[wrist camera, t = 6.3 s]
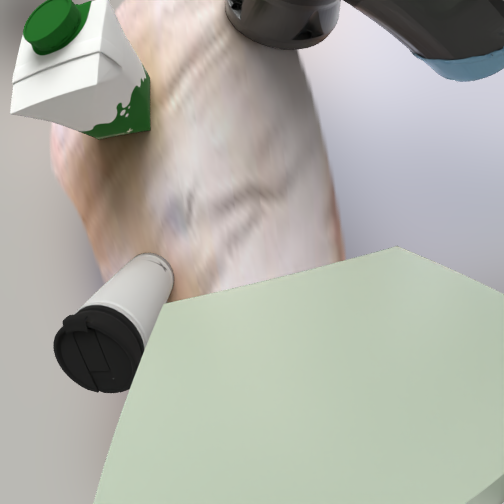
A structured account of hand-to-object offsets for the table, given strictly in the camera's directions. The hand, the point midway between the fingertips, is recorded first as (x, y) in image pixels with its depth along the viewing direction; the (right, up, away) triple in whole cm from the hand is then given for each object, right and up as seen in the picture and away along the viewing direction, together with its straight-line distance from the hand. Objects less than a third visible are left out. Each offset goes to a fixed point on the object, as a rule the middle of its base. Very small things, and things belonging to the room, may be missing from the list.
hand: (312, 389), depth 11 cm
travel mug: (-15, +3, +24) cm, 28 cm away
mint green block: (0, 0, +1) cm, 1 cm away
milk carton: (-18, +23, +19) cm, 35 cm away
